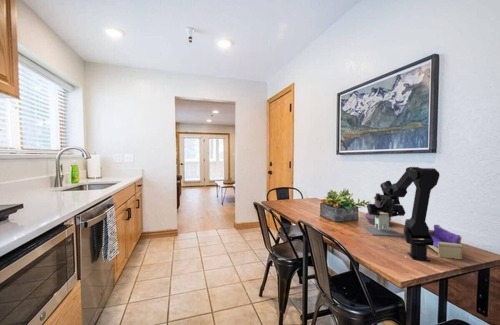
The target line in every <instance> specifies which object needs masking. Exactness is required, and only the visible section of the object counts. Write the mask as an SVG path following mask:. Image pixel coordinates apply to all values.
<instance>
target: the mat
mask: <svg viewBox="0 0 500 325" xmlns="http://www.w3.org/2000/svg"><path fill="white" fill-rule="evenodd" d="M362 228H363V229H364V228H365V229H364V230H365V231H367V232H368V233H369V234H370V235H372V236H375V237H377V236H378V237H379V236H380V237H397V238H398V237H399V238H400V237H401V238H405V236H404V234H402V233H400V232H399V231H397V230H395V229H393V228H392V227H390V226H389V231H387V230H386V226H385V228H382V226H381V230H378V228H375V225H374V226H372V225H371V226H370V225H362Z"/></svg>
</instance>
